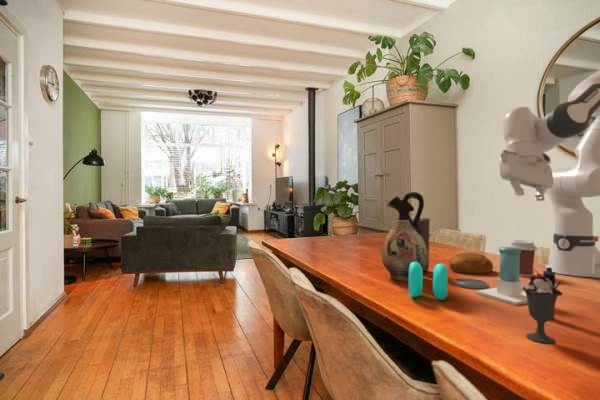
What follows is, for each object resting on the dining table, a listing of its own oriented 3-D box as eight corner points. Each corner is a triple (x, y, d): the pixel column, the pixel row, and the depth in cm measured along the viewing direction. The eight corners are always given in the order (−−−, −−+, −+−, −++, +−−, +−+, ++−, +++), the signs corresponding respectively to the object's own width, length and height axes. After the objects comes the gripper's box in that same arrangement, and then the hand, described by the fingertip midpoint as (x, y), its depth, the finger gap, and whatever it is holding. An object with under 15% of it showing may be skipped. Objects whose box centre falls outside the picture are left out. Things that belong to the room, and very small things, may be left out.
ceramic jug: (377, 281, 120) (378, 191, 119) (384, 271, 134) (385, 191, 133) (431, 286, 113) (432, 192, 113) (433, 275, 128) (434, 191, 127)
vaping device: (550, 320, 83) (551, 269, 83) (527, 313, 88) (528, 265, 88) (557, 318, 85) (558, 268, 84) (533, 312, 89) (534, 264, 89)
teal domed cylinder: (506, 276, 106) (507, 246, 106) (524, 281, 101) (525, 249, 101) (494, 278, 104) (494, 247, 103) (512, 283, 99) (512, 250, 98)
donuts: (447, 305, 95) (447, 267, 95) (408, 301, 98) (408, 264, 98) (445, 294, 104) (446, 260, 104) (410, 291, 108) (410, 258, 108)
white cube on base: (503, 288, 110) (503, 273, 110) (543, 299, 100) (544, 282, 99) (476, 293, 105) (476, 277, 105) (515, 305, 94) (515, 287, 94)
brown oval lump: (498, 280, 129) (502, 259, 129) (455, 274, 130) (459, 253, 129) (479, 270, 144) (482, 251, 143) (440, 265, 144) (444, 245, 144)
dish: (467, 279, 122) (467, 277, 122) (494, 286, 113) (494, 284, 113) (446, 282, 118) (446, 280, 118) (472, 290, 109) (472, 287, 109)
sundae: (513, 332, 76) (514, 262, 76) (543, 331, 77) (544, 262, 76) (536, 346, 70) (538, 269, 69) (568, 345, 70) (570, 269, 70)
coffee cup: (504, 274, 129) (504, 241, 129) (510, 270, 136) (511, 239, 136) (534, 278, 123) (534, 244, 123) (539, 274, 130) (539, 241, 129)
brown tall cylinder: (430, 273, 131) (430, 219, 130) (409, 272, 132) (409, 218, 132) (427, 269, 138) (427, 217, 138) (407, 268, 140) (407, 217, 139)
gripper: (510, 144, 105) (517, 188, 100) (554, 159, 113) (562, 200, 108) (491, 152, 110) (497, 194, 106) (534, 166, 118) (541, 206, 114)
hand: (530, 197), depth 107 cm, fingers open, 8 cm apart
